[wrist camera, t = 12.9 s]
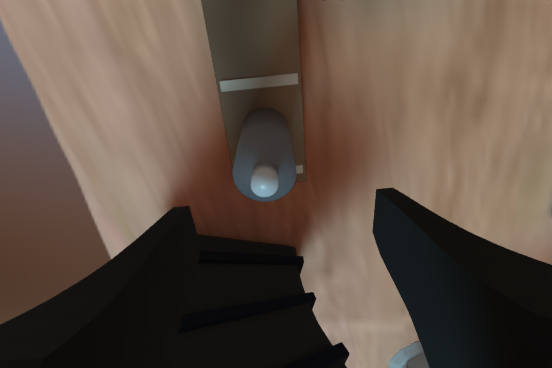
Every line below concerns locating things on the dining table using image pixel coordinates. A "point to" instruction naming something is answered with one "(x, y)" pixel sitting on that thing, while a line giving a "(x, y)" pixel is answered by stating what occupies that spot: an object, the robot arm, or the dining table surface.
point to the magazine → (251, 311)
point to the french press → (410, 357)
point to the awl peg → (264, 157)
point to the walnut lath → (257, 65)
